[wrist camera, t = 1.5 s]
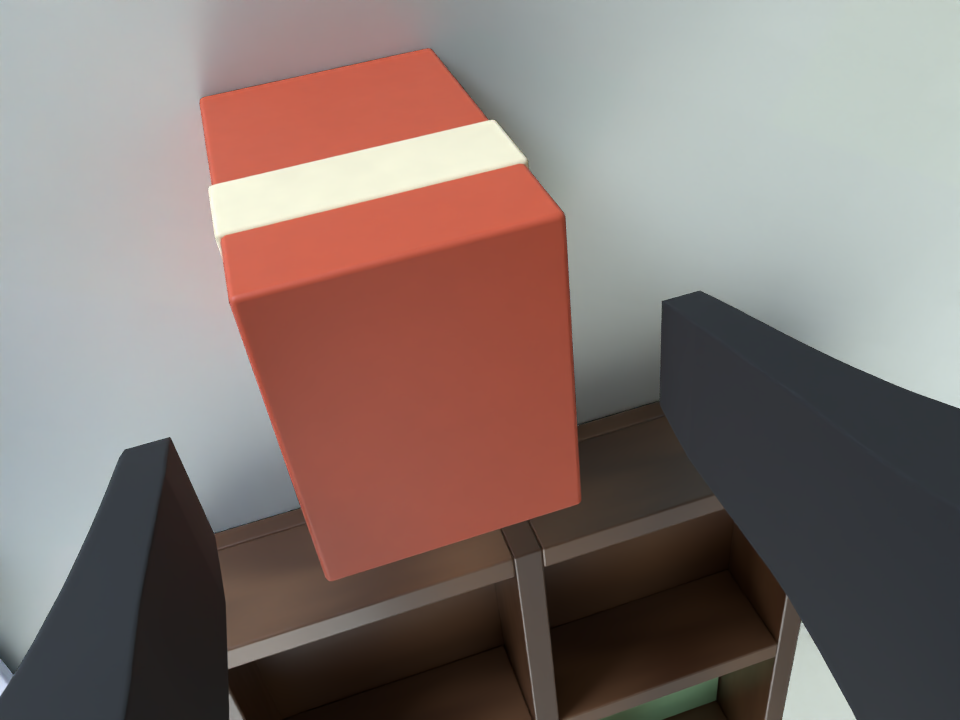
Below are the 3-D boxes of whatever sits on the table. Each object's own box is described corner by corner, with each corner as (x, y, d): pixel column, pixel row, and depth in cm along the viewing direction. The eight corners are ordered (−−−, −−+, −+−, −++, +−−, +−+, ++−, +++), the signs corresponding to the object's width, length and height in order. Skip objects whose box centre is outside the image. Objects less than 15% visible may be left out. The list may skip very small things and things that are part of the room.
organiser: (318, 831, 32) (335, 938, 30) (175, 544, 22) (180, 665, 20) (722, 686, 35) (772, 772, 32) (757, 370, 25) (834, 455, 22)
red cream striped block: (274, 342, 20) (325, 588, 14) (194, 94, 16) (222, 297, 11) (469, 291, 20) (586, 506, 15) (433, 42, 17) (571, 208, 12)
